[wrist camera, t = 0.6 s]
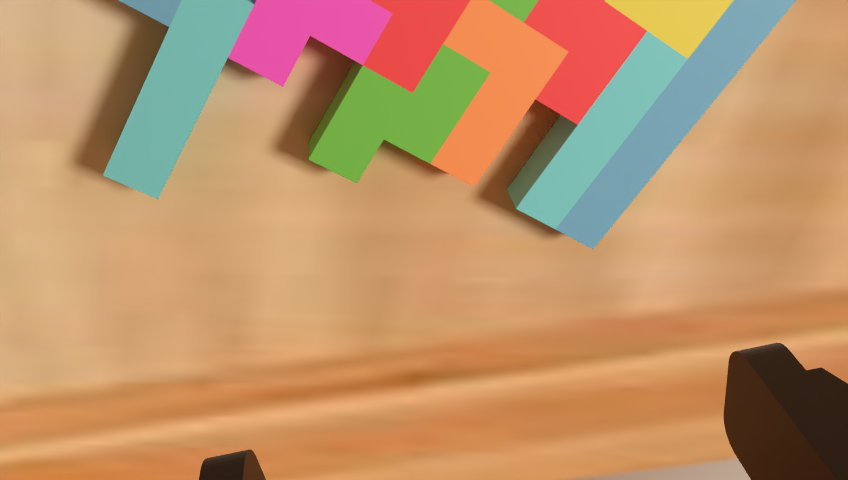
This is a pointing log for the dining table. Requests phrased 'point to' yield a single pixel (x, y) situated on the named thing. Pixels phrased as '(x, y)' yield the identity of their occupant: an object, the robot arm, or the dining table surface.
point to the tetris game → (464, 86)
